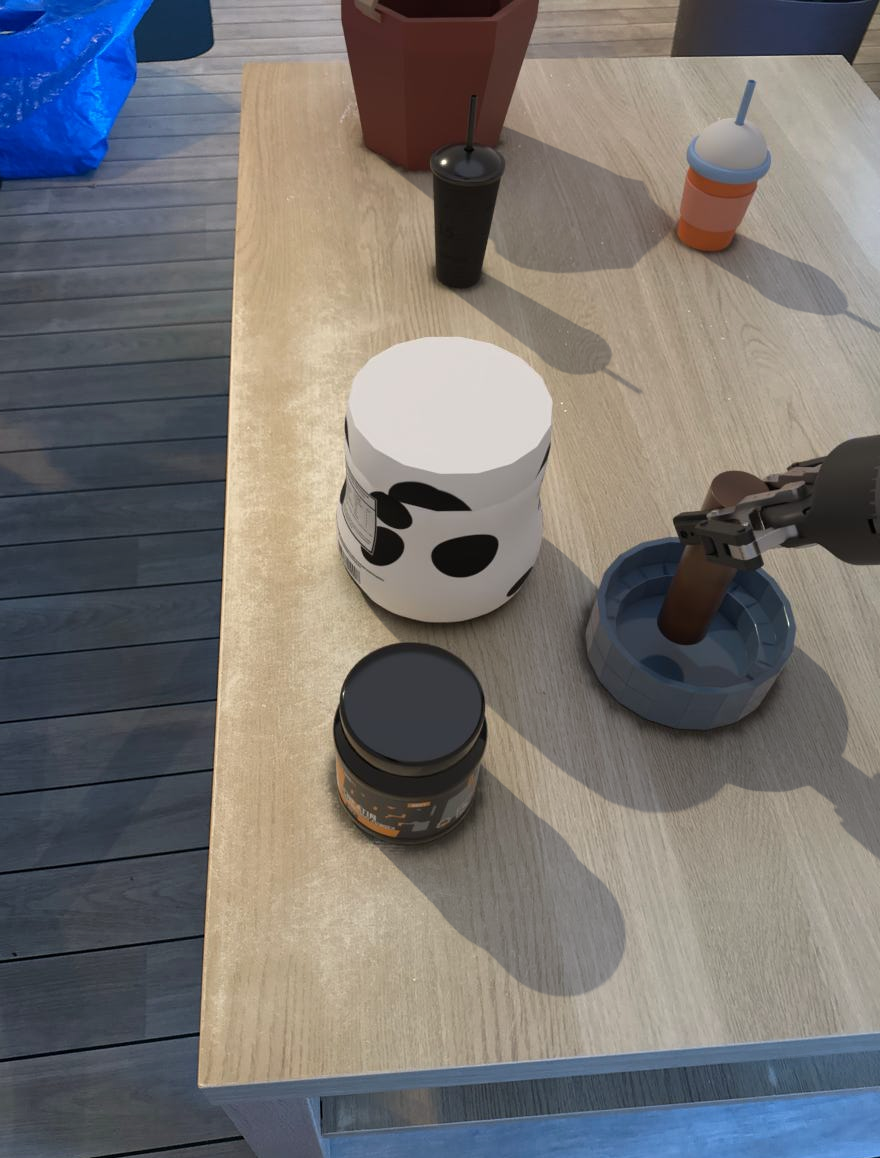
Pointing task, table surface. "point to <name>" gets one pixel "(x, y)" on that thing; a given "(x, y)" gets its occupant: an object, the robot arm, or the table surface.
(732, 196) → the cup with straw
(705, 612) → the brown cylinder
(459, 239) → the drinking cup
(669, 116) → the table surface
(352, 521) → the milk container
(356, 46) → the bucket
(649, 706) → the bowl
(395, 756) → the supplement container
